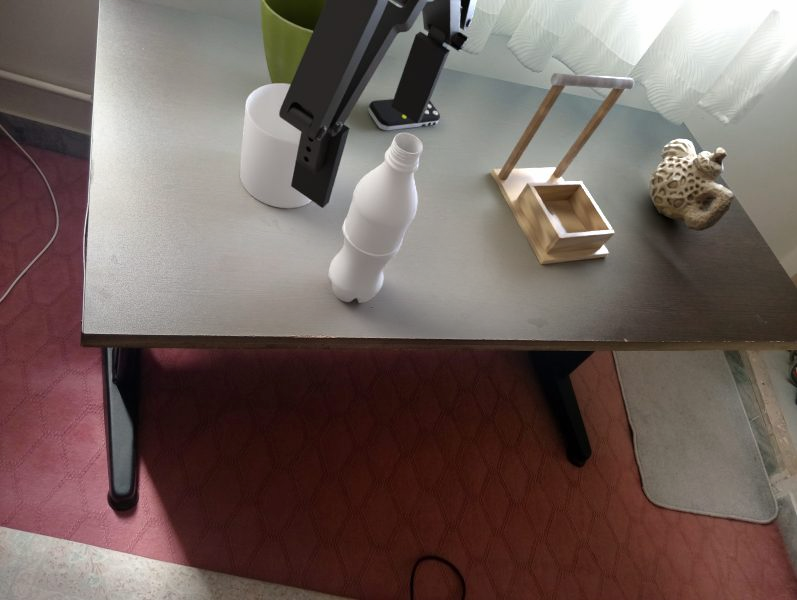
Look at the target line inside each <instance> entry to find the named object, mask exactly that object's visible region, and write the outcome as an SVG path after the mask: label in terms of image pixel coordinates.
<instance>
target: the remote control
mask: <svg viewBox="0 0 797 600" xmlns="http://www.w3.org/2000/svg"><path fill="white" fill-rule="evenodd" d="M393 99H394V98H390V99H377V100H376V99H375V100H372V101H370V103H369V106H368V108H367V109H368V113H369V115H370V117H371V118H372V119H373V121H374V123H375V124H376V126H377V127H378V128H379V129H380V130H383V131H395V130H402V129H411V128H420V127H428V126H435V125H437V124H438V123H439V121H440V119H441V113H440V112H439V111H438V108H436V107H435V106H434V104H433V102H432V101H431V100H430V101H429V103H428V106H427V108H426V111H425V113H424V115H423V118H422V120H421V121H420V122H419V123H418V124H417V123H415V122H414V121H412V120H411V119H409V118H408V117H406V116H405V115H403V114H402V113H400V112H399V111H397V110H396V109H394V108H393V107H391V105H392V102H393Z"/></svg>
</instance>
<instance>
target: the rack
mask: <svg viewBox="0 0 797 600" xmlns="http://www.w3.org/2000/svg"><path fill="white" fill-rule="evenodd" d="M550 83H551V87H550V89H549V90H548V91H547V93H546V95H545V96H544V98H543V100H542V102H541V103H540V105H539V107H538V108H537V110H536V111H535V114H534V115H533V117H532V118H531V120H530V122H529V123H528V125H527V127H526V128H525V130H524V131H523V133H522V135H521V137H520V138H519V139H518V142H517V143H516V145H515V146H514V148H513V150H512V152H511V153H510V154H509V156H508V158H507V160H506V161H505V163H504V165H503V166H502V168H493V169H492V170H491V172H490V174H491V176H492V178H493V180H494V181H495V183H496V185H497V187H498V189H499V190H500V192H501V194H502V196H503V198H504V200H505V202H506V203H507V205H508V207H509V209H510V211H511V212H512V214H513V216H514V218H515V220H516V222H517V223H518V225H519V227H520V229H521V231H522V233H523V235H524V236H525V238H526V240H527V242H528V244H529V245H530V247H531V250H532V251H533V253H534V255H535V256H536V258H537V260H538V261H539V264H540V265H547V264H557V263H565V262H573V261H581V260H591V259H597V258H606V257H607V256H609V254H610V251H609V250H608V249H607V247H606V243H607V242H608V241H609V240H610V239H611V238H612V237H613V236H614V235H616V232H615V230H614V228H613V227H612V226H611V224H610V222H609V221H608V220H607V218H606V216H605V214H604V213H603V212H602V210H601V209H600V207H599V205H598V204H597V203H596V200H594V198H593V197H592V195H591V193H590V191H589V190H588V188H587V187H586V185H585V184H584V183H583V181H582V180H569V181H567V180H566V181H565V180H564V178H563V177H562V176H563V175H564V174H565V172H566V171H567V169H568V168H569V167H570V166H571V164H572V163H573V161H574V160H575V159H576V157H577V156H578V154H579V153H580V152H581V150H582V149H583V148H584V147H585V145H586V144H587V142H588V141H589V140H590V138H591V137H592V136H593V134H594V133H595V131H596V130H597V129H598V128H599V126H600V125H601V123H602V122H603V121H604V119H605V118H606V116H607V115H608V114H609V112H610V111H611V110H612V108H613V107H614V105H616V103H617V101H618V100H619V99H620V97H621V95H623V94H624V92H625V90H632V88H633V87H634V85H635V80H634V79H633V78H631V77H617V76H601V75H587V74H573V73H558V72H555V73H553V74H552V75H551V77H550ZM565 87H577V88H593V89H594V88H596V89H611V90H610V92H609V94H607V96H606V98H605V99H604V100H603V102H602V103H601V105H600V106H599V108H598V109H597V110H596V112H595V113H594V115H593V116H592V117H591V118H590V120H589V121H588V123H587V124H586V125H585V127H584V128H583V130H582V131H581V133H580V134H579V135H578V137H577V138H576V139H575V141H574V143H573V144H572V145H571V147H570V148H569V149H568V150H567V152H566V154H565V155H564V156H563V158H562V159H561V161H560V162H559V163H558V165H557V166H556V167H522V168H520V167H519V168H515V167H516V165H517V164H518V163H519V160H520V159H521V158H522V156H523V154H524V152H525V151H526V149H527V148H528V146H529V145H530V143H531V141H533V138H534V137H535V135H536V133H537V132H538V130H539V129H540V127H541V125H542V124H543V122H544V121H545V119H546V118H547V116H548V115H549V112H550V111H551V110H552V108H553V107H554V105H555V103H556V102H557V100H558V98H559V96H560V95H561V94H562V92H563V90H564V89H565Z"/></svg>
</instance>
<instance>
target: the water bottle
mask: <svg viewBox="0 0 797 600" xmlns="http://www.w3.org/2000/svg"><path fill="white" fill-rule="evenodd" d="M423 150H424V145H423V143H422V140H421V139H419V138H418V137H417V136H416V135H415V134H412V133H408V132H400V133H397V134H396V135H395V136H394V138H393V140H392V142H391V145H390V146H389V147H388V149H387V150H386V151H385V153H384V160H383V162H382V163H380V164H379V165H378V166H376V167H375V168H373V169H372V170H370V171H369V172H367V173H366V174H365V175H364V176H363V177H362V178H361V179H360V180H359V181H358V183H357V184H356V186H355V188H354V190H353V193H352V199H351V203H350V206H349V208H348V212H347V215H346V217H345V219H344V221H343V224H342V227H341V231H342V233H343V239H344V240H343V246H342V248H340V251H338V253H337V254H336V255H335V256H334V257H333V258H332V260H331V262H330V264H329V269H328V281H329V283H330V284H331V289H332V292H333V293H334V295H335V296H336V298H338V299H339V300H340V301H342V302H345V303H351V302H352V301H353V300H355V299H356V301H357V303H358V304H364V303H367V302H368V301H370V300H371V299H373V298H374V297H376V296H377V294H378V293H379V292H380V290H381V289H382V287H383V284H384V277H385V276H384V272H383V271H384V269H385V267H386V265H387V264H388V263H389V262H390V261H391V260H392V259H393V258H394V257H395V256H396V255H397V254H398V252H399V251H400V249H401V246H402V245H403V240H404V237H405V235H406V233H407V231H408V229H409V226H410V224H411V222H413V220H414V219H415V217H416V214H417V210H418V205H419V204H418V202H419V201H418V190H417V186H416V182H415V177H414V176H415V175H414V174H415V173H416V171H417V170H418V168H419V166H420V157H421V155H422V152H423Z"/></svg>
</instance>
